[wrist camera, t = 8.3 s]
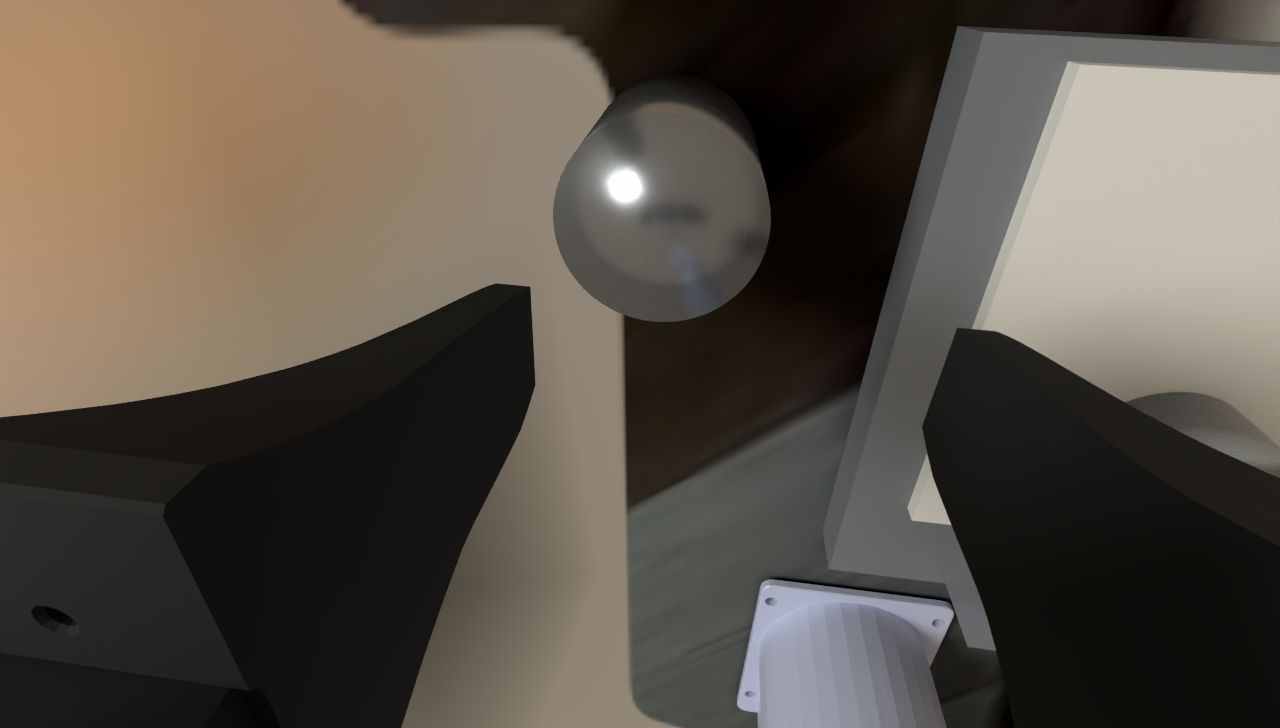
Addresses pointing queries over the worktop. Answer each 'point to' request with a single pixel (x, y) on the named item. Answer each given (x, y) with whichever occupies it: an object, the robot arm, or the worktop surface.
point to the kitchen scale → (1070, 257)
